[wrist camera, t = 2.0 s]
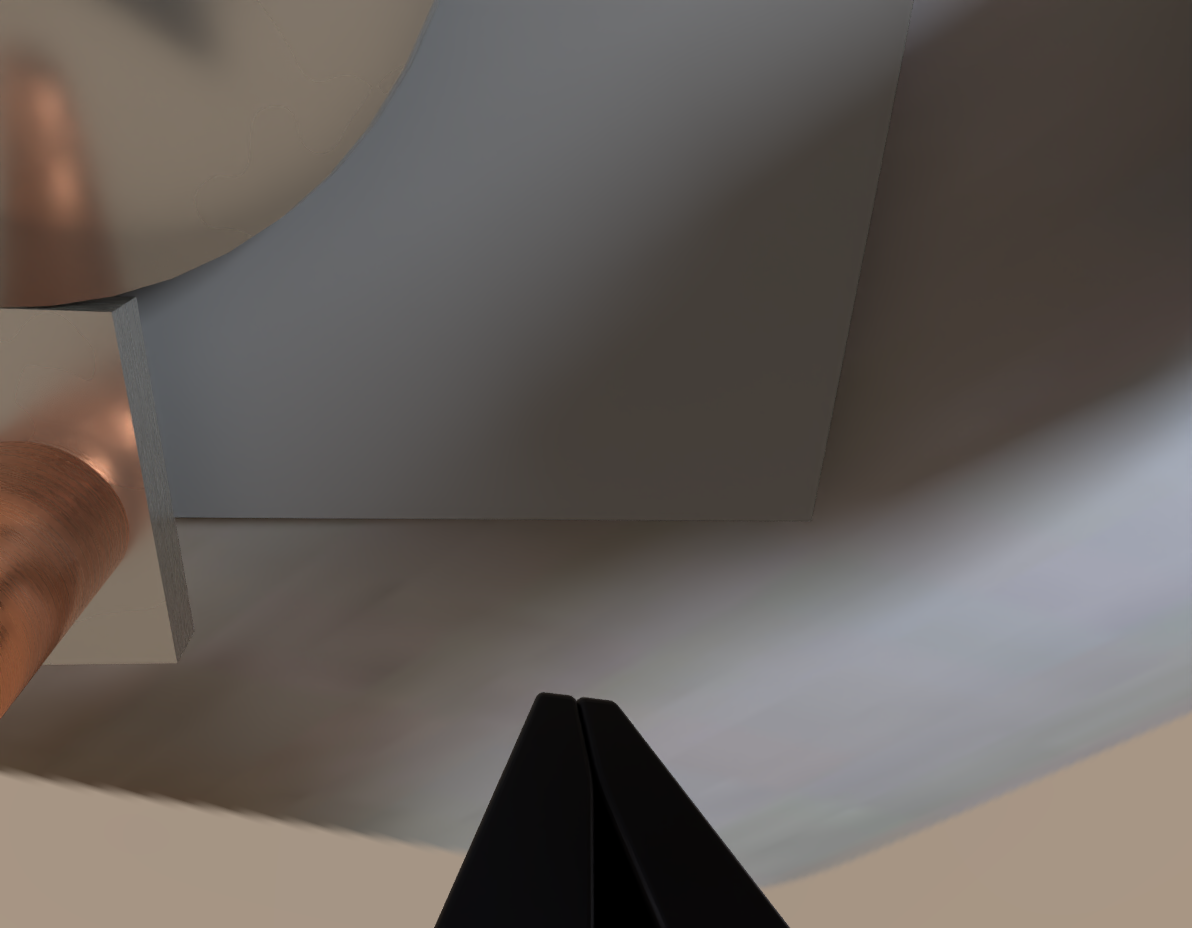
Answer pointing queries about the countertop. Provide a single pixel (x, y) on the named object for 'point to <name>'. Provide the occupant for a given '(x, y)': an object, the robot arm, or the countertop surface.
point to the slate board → (551, 277)
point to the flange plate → (141, 269)
